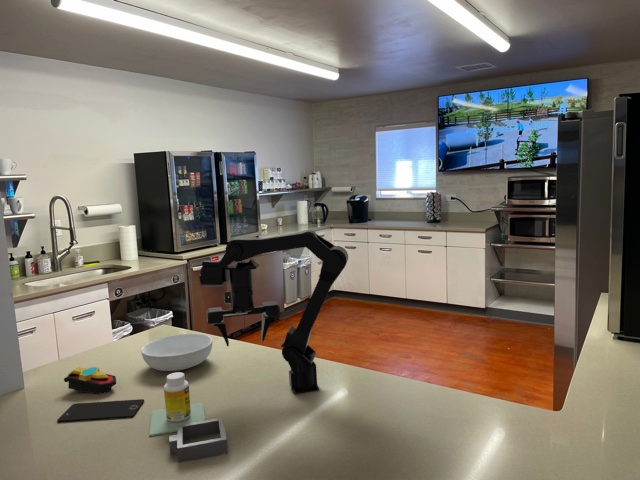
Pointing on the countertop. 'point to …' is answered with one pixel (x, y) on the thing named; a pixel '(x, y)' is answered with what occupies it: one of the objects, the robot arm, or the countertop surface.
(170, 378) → the supplement bottle
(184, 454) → the collar
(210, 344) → the serving bowl
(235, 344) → the countertop surface
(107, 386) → the gadget
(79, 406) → the cell phone
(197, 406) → the mat
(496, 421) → the countertop surface
